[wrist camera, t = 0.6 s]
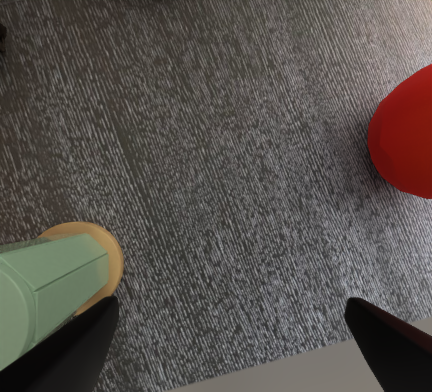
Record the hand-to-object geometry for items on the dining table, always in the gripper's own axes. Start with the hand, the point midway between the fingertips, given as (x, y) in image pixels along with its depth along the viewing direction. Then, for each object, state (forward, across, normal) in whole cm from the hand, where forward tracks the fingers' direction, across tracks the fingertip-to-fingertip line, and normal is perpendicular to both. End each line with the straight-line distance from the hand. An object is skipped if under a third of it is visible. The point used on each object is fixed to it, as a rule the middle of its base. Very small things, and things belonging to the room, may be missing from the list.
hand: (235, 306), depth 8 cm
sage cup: (+12, +14, +6) cm, 19 cm away
